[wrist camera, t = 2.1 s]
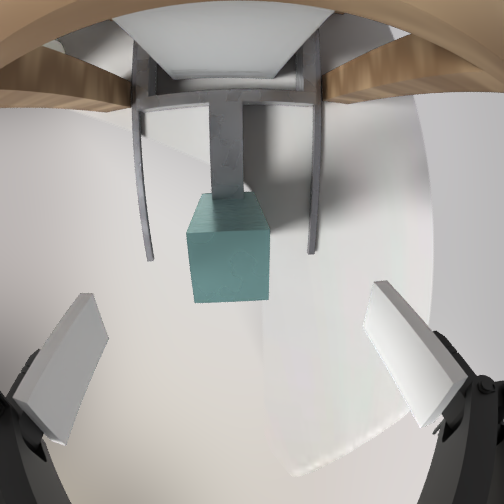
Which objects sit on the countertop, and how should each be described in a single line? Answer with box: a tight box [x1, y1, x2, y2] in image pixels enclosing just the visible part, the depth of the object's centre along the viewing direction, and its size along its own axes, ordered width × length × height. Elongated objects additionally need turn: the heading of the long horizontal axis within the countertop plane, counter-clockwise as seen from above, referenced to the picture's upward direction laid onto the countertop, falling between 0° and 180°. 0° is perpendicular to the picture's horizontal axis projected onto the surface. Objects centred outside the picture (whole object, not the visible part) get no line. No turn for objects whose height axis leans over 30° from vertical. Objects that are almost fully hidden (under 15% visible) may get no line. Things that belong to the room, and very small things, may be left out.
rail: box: [132, 28, 321, 261], centre depth 20 cm, size 28×16×1 cm, turn 0°
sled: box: [136, 33, 316, 303], centre depth 16 cm, size 26×14×10 cm, turn 0°
